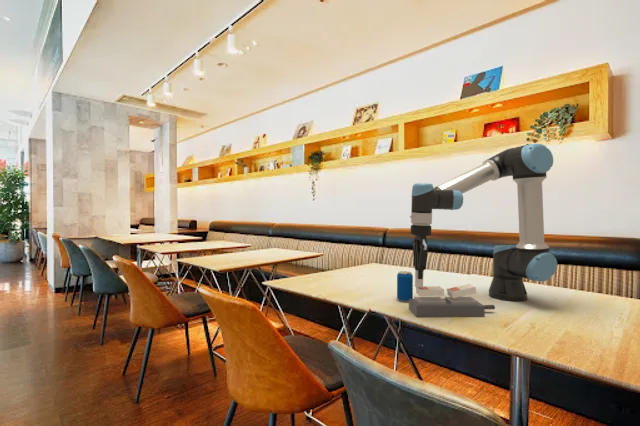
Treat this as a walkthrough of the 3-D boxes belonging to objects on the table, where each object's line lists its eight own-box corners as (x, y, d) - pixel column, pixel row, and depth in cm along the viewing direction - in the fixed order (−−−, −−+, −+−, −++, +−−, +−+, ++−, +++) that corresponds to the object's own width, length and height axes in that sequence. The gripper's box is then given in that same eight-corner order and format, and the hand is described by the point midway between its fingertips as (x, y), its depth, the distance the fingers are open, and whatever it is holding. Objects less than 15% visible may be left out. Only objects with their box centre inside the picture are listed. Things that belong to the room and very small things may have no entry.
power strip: (487, 308, 139) (487, 295, 139) (500, 316, 129) (500, 302, 129) (408, 308, 138) (409, 295, 138) (416, 317, 128) (416, 302, 128)
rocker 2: (470, 290, 136) (469, 283, 136) (476, 293, 131) (475, 286, 131) (447, 294, 136) (446, 288, 136) (453, 298, 131) (451, 291, 131)
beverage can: (413, 303, 147) (413, 274, 146) (397, 302, 148) (397, 273, 148) (412, 298, 153) (412, 271, 153) (396, 298, 154) (397, 270, 154)
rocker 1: (439, 292, 136) (439, 285, 136) (444, 295, 131) (444, 289, 131) (416, 292, 136) (416, 286, 136) (419, 296, 131) (419, 289, 131)
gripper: (406, 223, 139) (404, 282, 140) (416, 225, 126) (413, 291, 126) (425, 223, 139) (423, 283, 140) (437, 225, 126) (434, 291, 127)
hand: (418, 287), depth 133 cm, fingers closed
